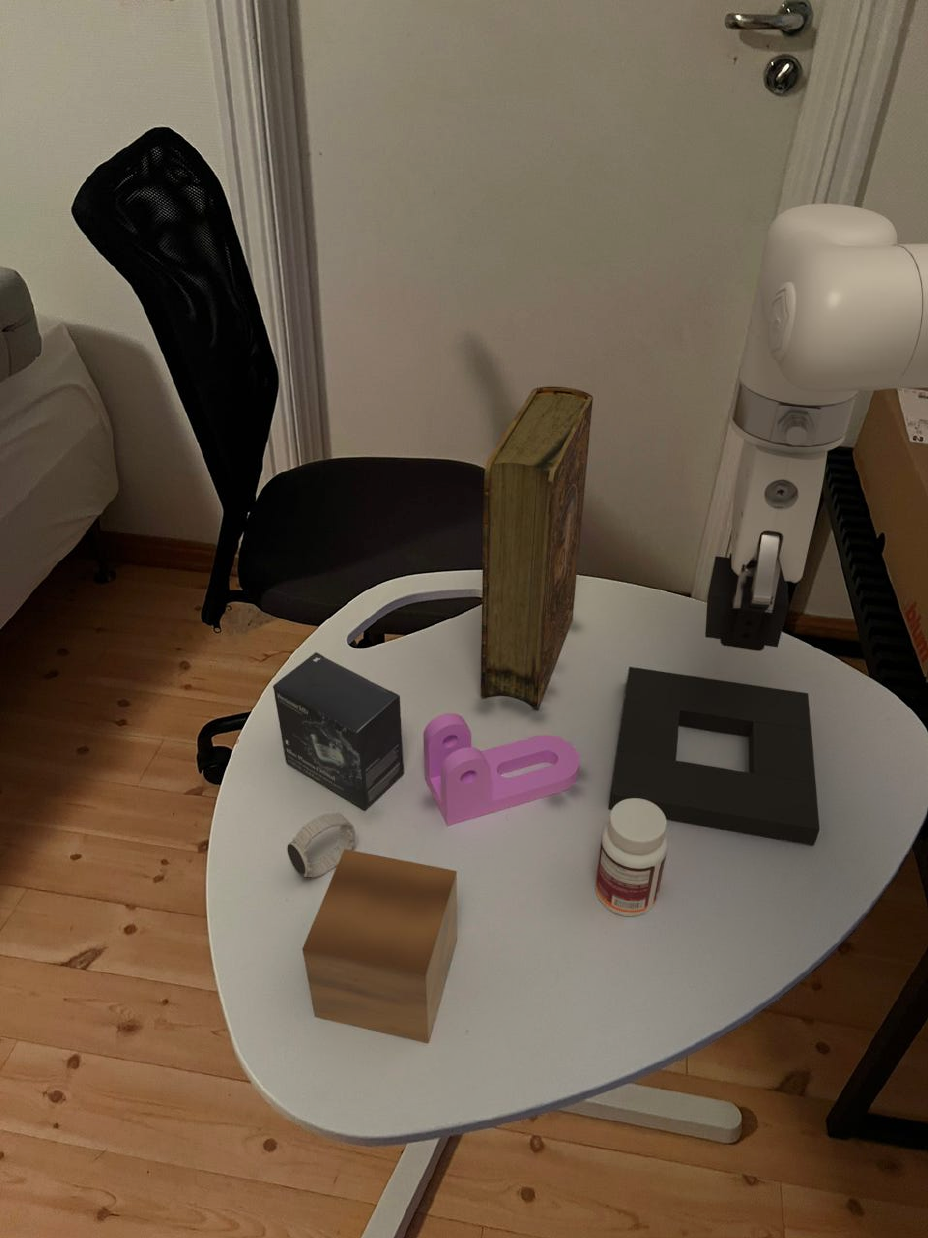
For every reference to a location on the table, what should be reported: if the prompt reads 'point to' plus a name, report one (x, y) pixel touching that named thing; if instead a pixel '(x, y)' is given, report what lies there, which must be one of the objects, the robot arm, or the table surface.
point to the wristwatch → (311, 831)
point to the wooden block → (383, 945)
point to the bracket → (491, 770)
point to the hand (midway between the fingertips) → (741, 619)
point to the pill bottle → (632, 857)
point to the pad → (724, 591)
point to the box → (340, 729)
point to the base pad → (713, 796)
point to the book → (532, 541)
